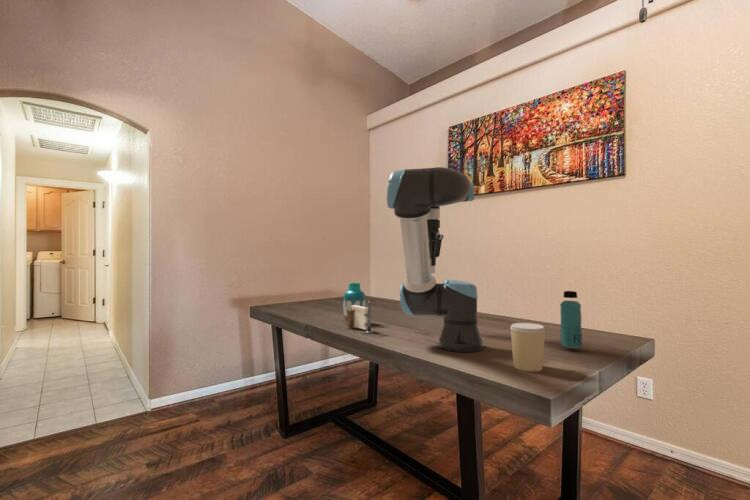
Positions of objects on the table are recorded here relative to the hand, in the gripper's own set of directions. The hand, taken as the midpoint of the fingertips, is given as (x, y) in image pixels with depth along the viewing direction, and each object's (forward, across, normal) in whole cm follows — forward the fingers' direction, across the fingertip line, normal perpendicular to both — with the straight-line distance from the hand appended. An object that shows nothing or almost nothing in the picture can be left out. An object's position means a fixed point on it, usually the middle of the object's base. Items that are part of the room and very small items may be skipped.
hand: (431, 273), depth 158 cm
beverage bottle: (+25, -52, -16) cm, 60 cm away
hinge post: (+24, +10, +26) cm, 37 cm away
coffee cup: (+25, -55, +13) cm, 62 cm away
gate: (+24, +17, +26) cm, 39 cm away
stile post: (+24, +22, +28) cm, 43 cm away
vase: (+25, +31, +21) cm, 45 cm away
